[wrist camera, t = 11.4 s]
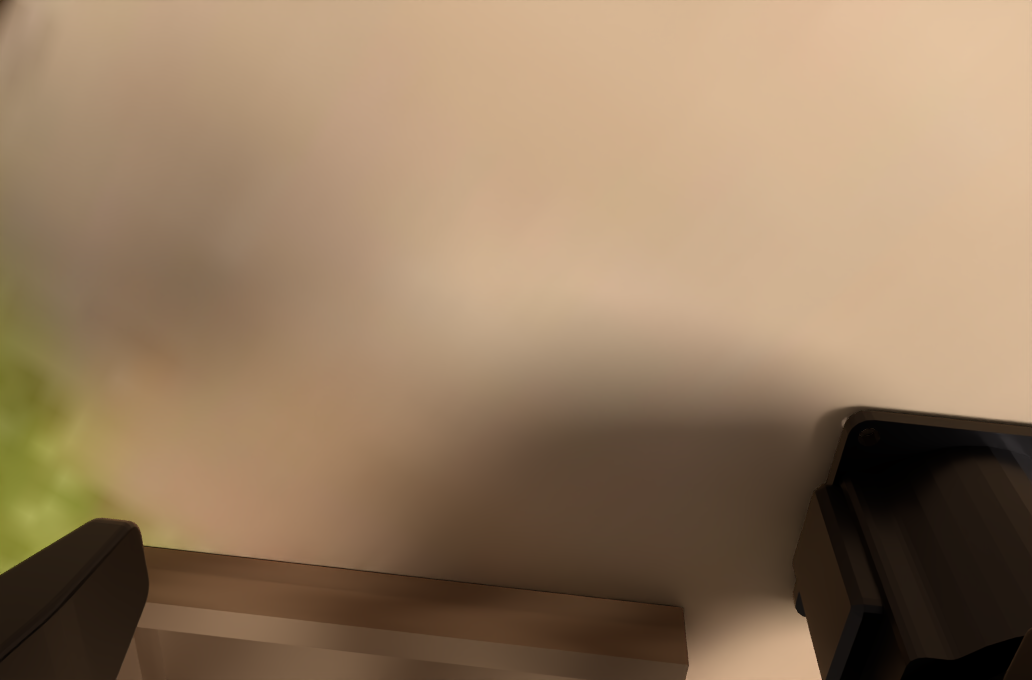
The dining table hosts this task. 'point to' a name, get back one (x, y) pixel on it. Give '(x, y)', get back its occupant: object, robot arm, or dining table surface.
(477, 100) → the dining table surface
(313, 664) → the walnut tray
